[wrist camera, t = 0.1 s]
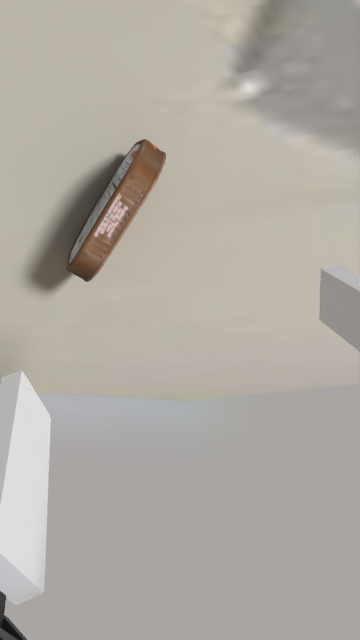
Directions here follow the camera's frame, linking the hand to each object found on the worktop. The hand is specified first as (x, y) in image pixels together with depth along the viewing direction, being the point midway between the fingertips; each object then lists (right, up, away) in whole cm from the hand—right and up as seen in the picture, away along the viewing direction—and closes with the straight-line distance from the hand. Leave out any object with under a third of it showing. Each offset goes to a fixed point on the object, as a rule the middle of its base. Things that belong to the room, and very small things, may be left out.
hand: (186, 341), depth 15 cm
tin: (-8, +14, +23) cm, 28 cm away
